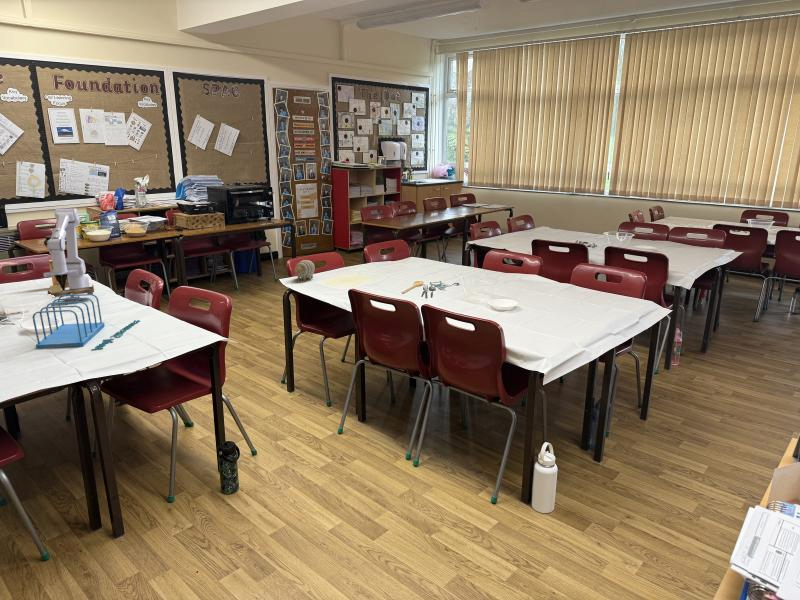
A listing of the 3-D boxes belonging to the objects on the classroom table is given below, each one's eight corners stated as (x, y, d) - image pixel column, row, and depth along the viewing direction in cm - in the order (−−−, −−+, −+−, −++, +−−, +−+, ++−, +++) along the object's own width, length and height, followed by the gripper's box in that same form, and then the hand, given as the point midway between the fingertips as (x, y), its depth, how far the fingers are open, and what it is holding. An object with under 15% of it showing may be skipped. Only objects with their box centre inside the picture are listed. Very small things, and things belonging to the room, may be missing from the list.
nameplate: (88, 351, 218) (101, 351, 218) (88, 349, 218) (101, 349, 218) (132, 321, 254) (143, 321, 254) (132, 319, 253) (143, 320, 253)
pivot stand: (65, 304, 277) (64, 294, 276) (66, 299, 286) (64, 288, 285) (79, 303, 280) (78, 292, 278) (79, 297, 289) (78, 287, 288)
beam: (49, 300, 275) (47, 293, 274) (49, 297, 281) (48, 290, 279) (94, 295, 285) (93, 287, 283) (94, 292, 290) (93, 284, 289)
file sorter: (62, 328, 244) (56, 294, 239) (105, 326, 246) (100, 293, 242) (36, 349, 220) (29, 311, 216) (83, 346, 222) (77, 309, 218)
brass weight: (51, 294, 276) (49, 287, 275) (51, 292, 279) (50, 285, 278) (61, 293, 278) (60, 286, 277) (61, 291, 282) (60, 284, 280)
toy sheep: (290, 281, 325) (289, 262, 322) (305, 274, 340) (304, 256, 337) (306, 282, 322) (306, 263, 319) (320, 276, 337) (320, 258, 334)
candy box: (53, 288, 306) (48, 261, 302) (53, 286, 310) (49, 259, 306) (72, 286, 310) (67, 259, 306) (72, 285, 314) (67, 258, 309)
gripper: (41, 266, 269) (46, 293, 273) (76, 263, 276) (80, 289, 280) (42, 263, 275) (46, 289, 279) (76, 260, 282) (80, 286, 286)
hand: (63, 289), depth 280 cm, fingers closed
